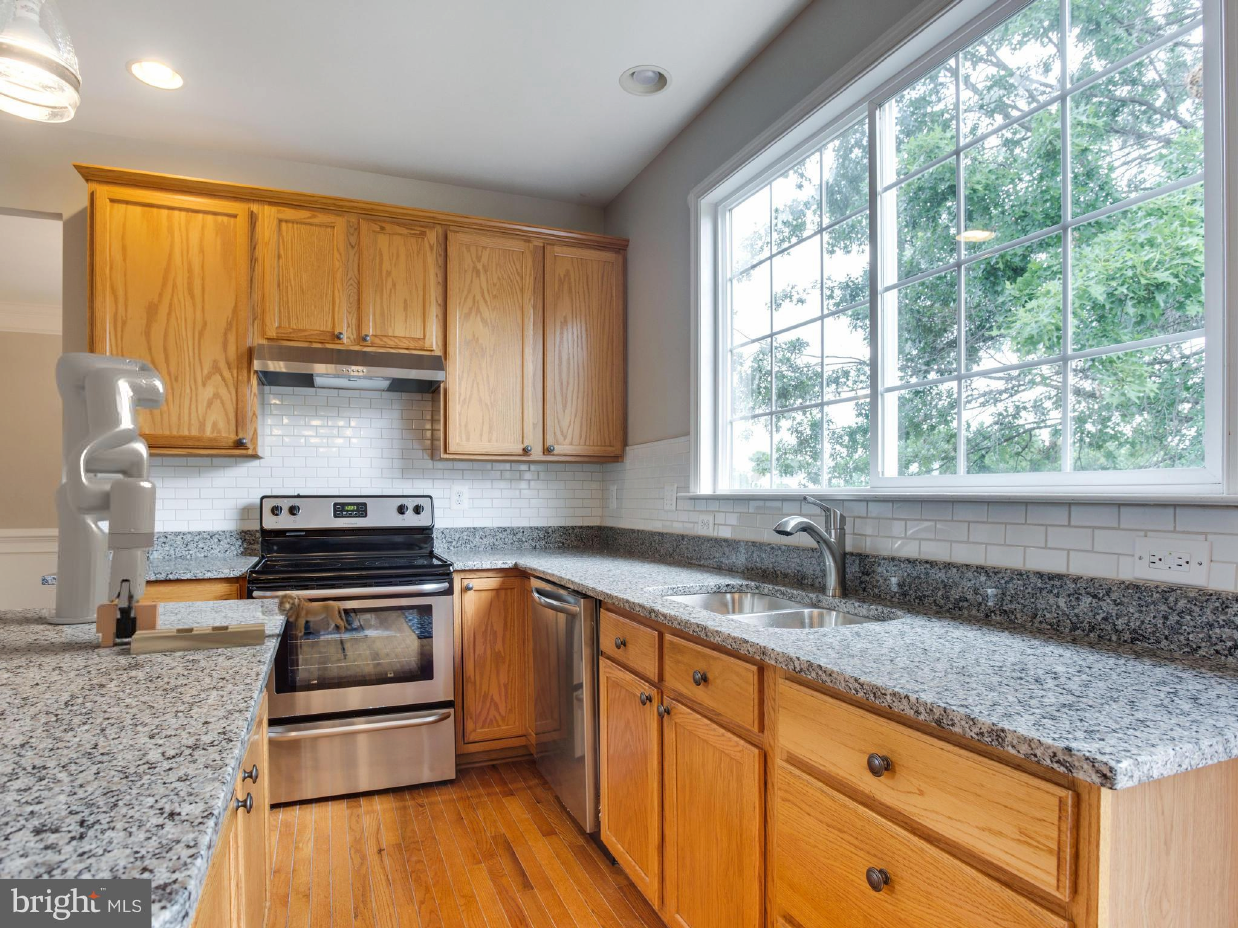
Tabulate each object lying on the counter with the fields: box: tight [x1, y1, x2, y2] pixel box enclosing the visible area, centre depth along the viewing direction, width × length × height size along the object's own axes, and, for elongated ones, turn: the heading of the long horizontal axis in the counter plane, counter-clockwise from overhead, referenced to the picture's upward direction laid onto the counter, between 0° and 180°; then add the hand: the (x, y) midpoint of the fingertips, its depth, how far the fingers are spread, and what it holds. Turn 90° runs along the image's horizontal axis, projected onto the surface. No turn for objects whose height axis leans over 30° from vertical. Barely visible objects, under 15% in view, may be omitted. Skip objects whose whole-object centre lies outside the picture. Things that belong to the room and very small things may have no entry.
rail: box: [130, 622, 266, 655], centre depth 138 cm, size 7×22×3 cm, turn 117°
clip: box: [95, 601, 160, 648], centre depth 139 cm, size 4×10×8 cm, turn 116°
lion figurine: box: [277, 591, 352, 637], centre depth 151 cm, size 15×5×9 cm, turn 119°
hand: (127, 635), depth 139 cm, fingers closed on clip, 3 cm apart
